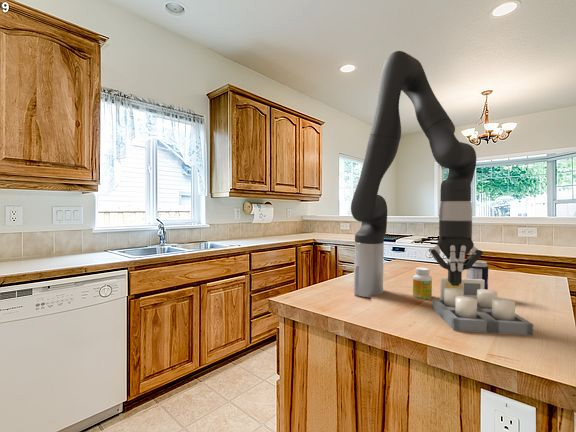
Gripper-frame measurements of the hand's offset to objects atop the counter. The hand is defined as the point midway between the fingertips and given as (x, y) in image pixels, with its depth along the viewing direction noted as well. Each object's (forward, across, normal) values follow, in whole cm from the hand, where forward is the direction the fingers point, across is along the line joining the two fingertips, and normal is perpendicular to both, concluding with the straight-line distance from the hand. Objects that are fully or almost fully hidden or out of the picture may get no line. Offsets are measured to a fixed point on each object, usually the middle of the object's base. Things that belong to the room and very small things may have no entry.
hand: (454, 285), depth 80 cm
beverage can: (+9, +13, +18) cm, 24 cm away
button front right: (+5, +8, -8) cm, 12 cm away
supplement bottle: (+9, -4, +15) cm, 18 cm away
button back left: (+5, 0, 0) cm, 5 cm away
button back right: (+5, +8, 0) cm, 9 cm away
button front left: (+5, 0, -8) cm, 10 cm away
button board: (+9, +4, -4) cm, 10 cm away
